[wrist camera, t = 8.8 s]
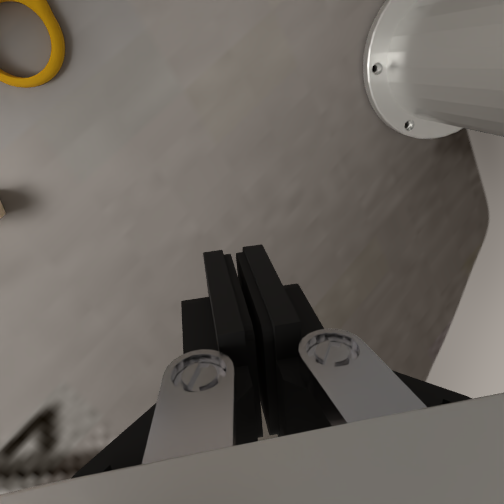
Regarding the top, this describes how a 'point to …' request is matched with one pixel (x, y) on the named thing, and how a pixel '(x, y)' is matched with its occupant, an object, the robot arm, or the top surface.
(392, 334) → the top surface
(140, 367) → the top surface
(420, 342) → the top surface
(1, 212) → the cream blocks and ball
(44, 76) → the novelty glasses
